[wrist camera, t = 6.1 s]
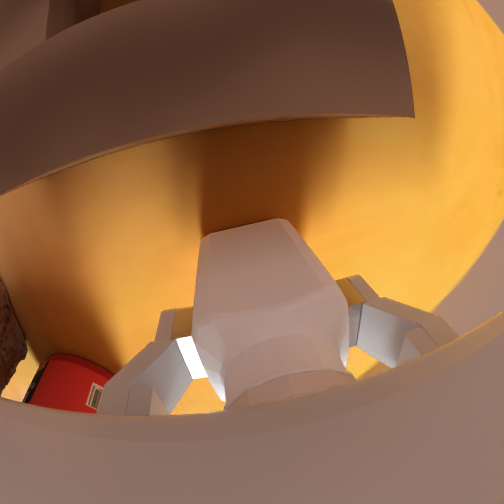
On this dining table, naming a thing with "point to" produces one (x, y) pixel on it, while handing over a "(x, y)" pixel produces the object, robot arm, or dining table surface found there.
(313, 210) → the dining table surface
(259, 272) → the pepper shaker
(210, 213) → the dining table surface
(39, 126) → the socket
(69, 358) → the canned food
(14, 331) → the food item
